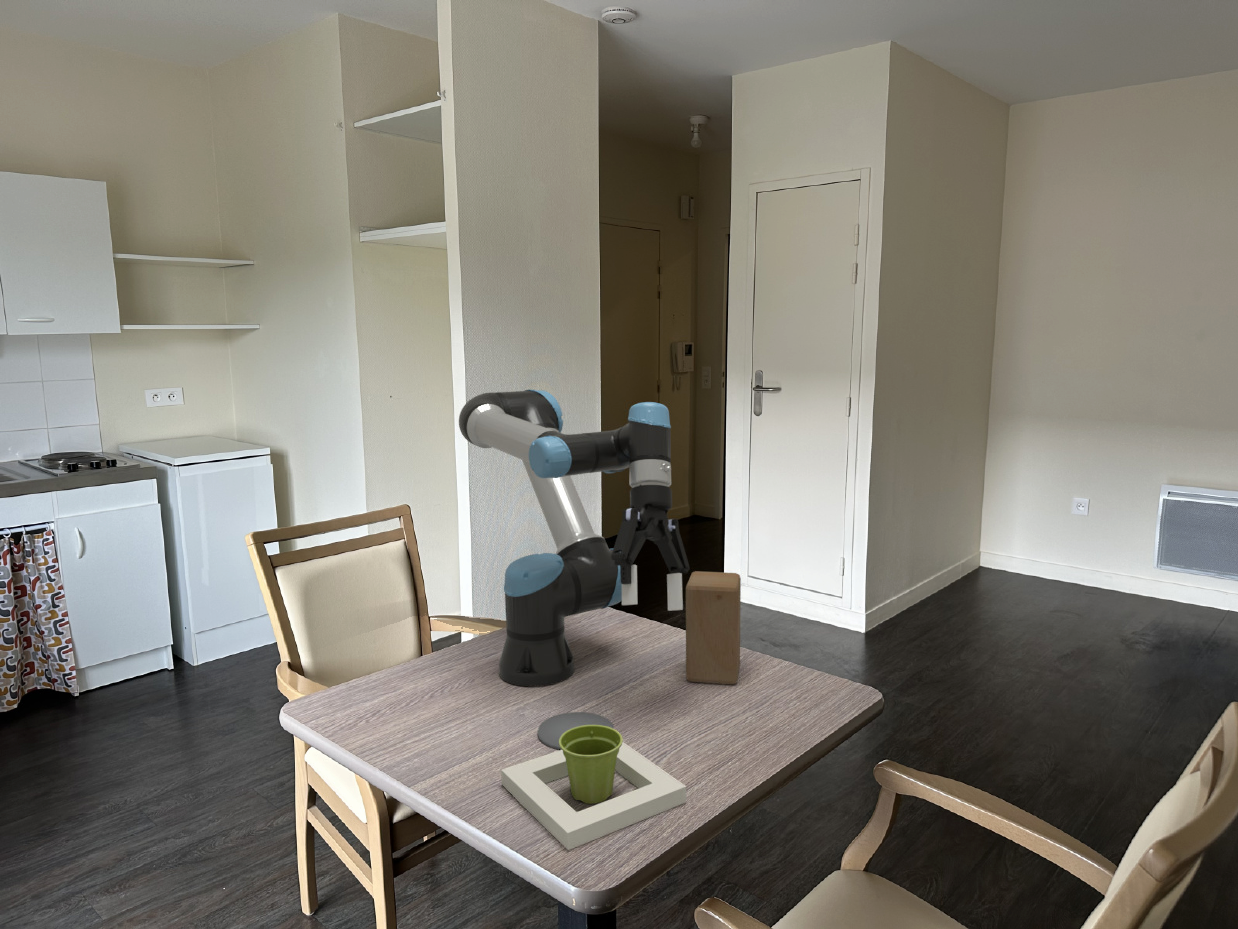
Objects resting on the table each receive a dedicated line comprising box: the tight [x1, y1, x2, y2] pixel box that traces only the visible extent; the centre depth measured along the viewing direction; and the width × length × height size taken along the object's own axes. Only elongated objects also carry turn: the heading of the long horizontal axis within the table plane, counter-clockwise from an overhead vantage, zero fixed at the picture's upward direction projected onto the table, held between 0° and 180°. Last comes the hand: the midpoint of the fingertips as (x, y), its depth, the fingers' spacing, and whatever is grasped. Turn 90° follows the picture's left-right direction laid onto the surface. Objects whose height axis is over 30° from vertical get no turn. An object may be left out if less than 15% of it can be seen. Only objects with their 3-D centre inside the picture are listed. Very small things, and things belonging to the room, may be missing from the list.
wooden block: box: [685, 570, 742, 685], centre depth 167 cm, size 10×10×20 cm
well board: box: [500, 741, 687, 851], centre depth 126 cm, size 20×20×2 cm
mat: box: [537, 711, 615, 751], centre depth 145 cm, size 13×13×1 cm
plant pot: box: [559, 725, 624, 805], centre depth 125 cm, size 9×9×9 cm
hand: (653, 607), depth 146 cm, fingers open, 13 cm apart
